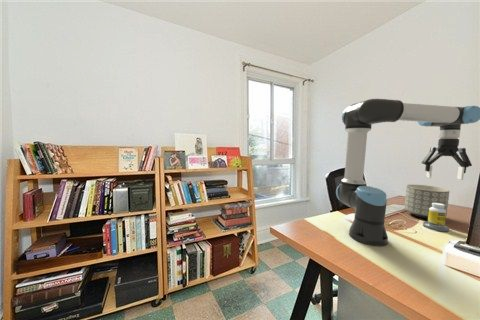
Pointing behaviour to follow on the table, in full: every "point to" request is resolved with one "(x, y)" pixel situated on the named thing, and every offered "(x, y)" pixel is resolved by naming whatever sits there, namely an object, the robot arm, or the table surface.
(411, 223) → the table surface
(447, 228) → the coaster
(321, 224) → the table surface
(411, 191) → the planter
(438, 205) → the pill bottle
